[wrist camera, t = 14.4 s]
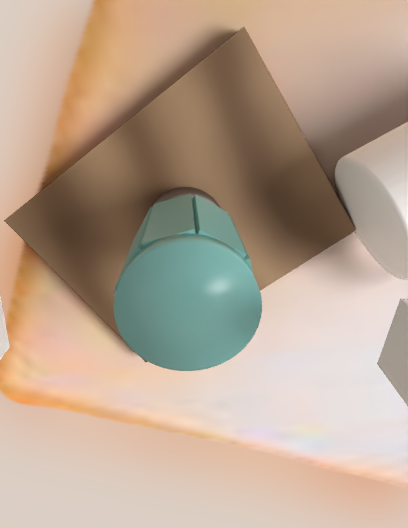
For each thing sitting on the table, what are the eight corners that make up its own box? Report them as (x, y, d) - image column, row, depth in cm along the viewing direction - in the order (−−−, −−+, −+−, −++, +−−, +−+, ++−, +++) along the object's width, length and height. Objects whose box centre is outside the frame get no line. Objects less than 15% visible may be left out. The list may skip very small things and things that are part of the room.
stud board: (240, 31, 20) (286, -34, 11) (348, 224, 25) (438, 286, 16) (12, 215, 23) (-91, 277, 14) (147, 352, 28) (131, 461, 19)
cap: (155, 299, 20) (142, 384, 14) (123, 212, 18) (90, 266, 12) (244, 275, 20) (273, 351, 14) (222, 184, 18) (244, 224, 12)
